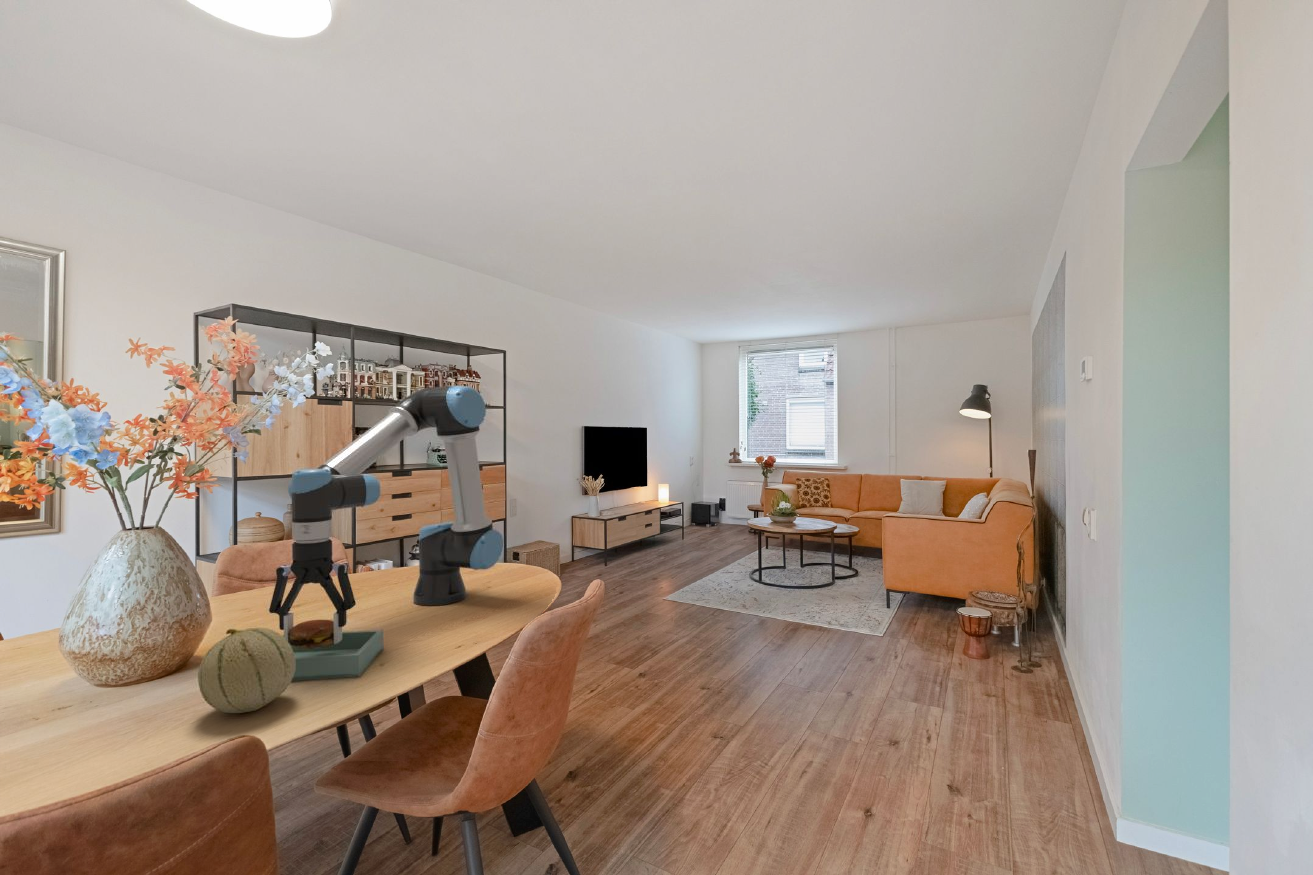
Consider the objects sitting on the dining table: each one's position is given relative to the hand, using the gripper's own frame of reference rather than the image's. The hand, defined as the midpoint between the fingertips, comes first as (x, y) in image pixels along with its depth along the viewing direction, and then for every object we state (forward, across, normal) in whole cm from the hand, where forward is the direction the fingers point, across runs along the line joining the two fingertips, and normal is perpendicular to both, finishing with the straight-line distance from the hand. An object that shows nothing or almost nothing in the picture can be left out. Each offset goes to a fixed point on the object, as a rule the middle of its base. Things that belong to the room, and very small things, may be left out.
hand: (313, 642), depth 128 cm
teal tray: (+5, 0, 0) cm, 5 cm away
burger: (+1, 0, 0) cm, 1 cm away
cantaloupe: (+5, -3, -20) cm, 21 cm away
